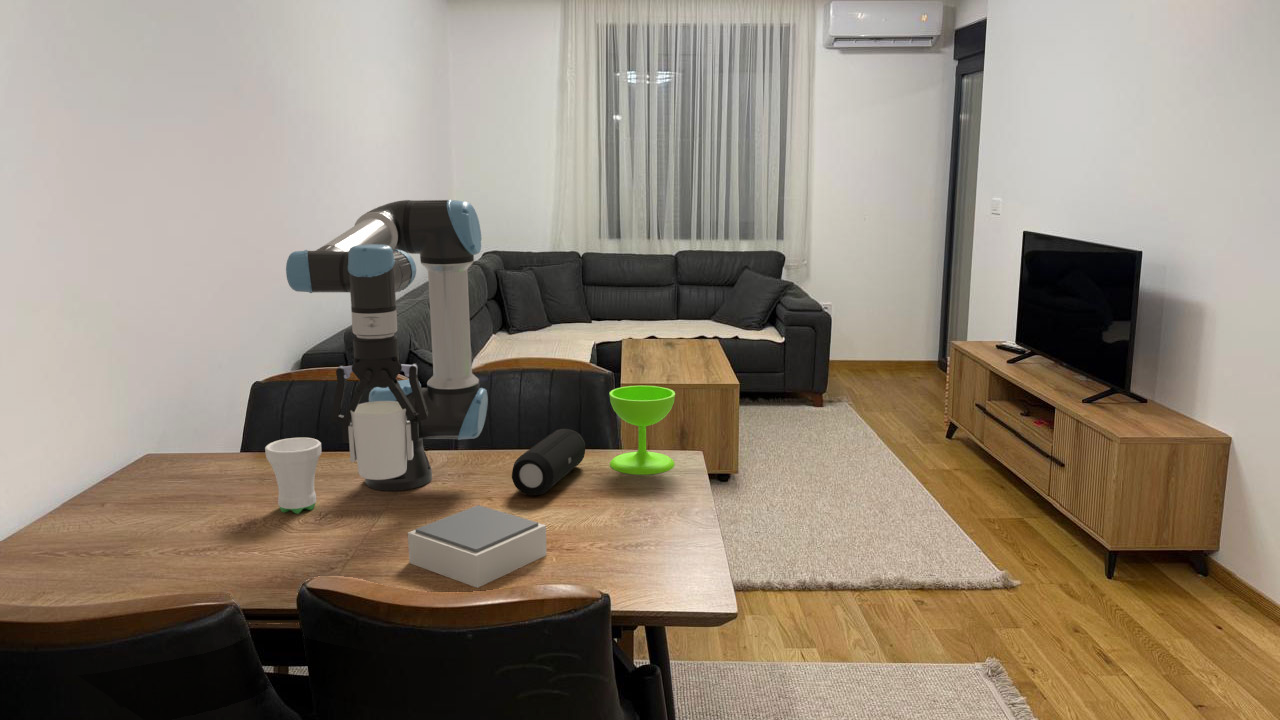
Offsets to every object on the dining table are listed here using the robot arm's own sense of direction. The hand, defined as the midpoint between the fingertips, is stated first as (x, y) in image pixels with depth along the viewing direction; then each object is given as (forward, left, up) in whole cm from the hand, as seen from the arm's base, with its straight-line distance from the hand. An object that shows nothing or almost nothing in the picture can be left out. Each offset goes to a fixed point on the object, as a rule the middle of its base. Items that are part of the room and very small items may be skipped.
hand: (382, 458), depth 175 cm
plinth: (+9, +13, -21) cm, 27 cm away
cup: (-42, +9, -22) cm, 48 cm away
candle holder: (0, 0, -3) cm, 3 cm away
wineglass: (-1, +78, -22) cm, 81 cm away
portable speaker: (-10, +56, -22) cm, 61 cm away
